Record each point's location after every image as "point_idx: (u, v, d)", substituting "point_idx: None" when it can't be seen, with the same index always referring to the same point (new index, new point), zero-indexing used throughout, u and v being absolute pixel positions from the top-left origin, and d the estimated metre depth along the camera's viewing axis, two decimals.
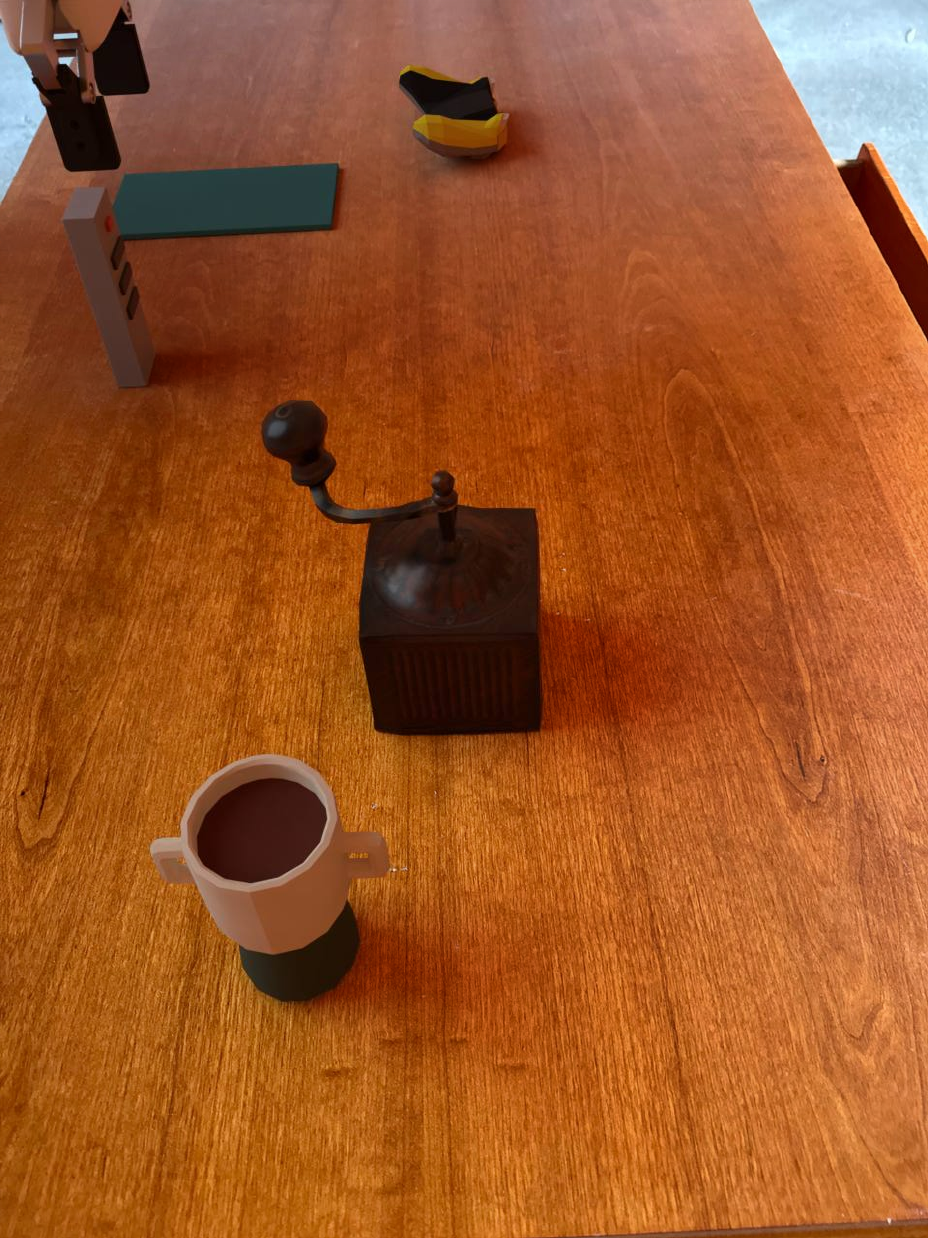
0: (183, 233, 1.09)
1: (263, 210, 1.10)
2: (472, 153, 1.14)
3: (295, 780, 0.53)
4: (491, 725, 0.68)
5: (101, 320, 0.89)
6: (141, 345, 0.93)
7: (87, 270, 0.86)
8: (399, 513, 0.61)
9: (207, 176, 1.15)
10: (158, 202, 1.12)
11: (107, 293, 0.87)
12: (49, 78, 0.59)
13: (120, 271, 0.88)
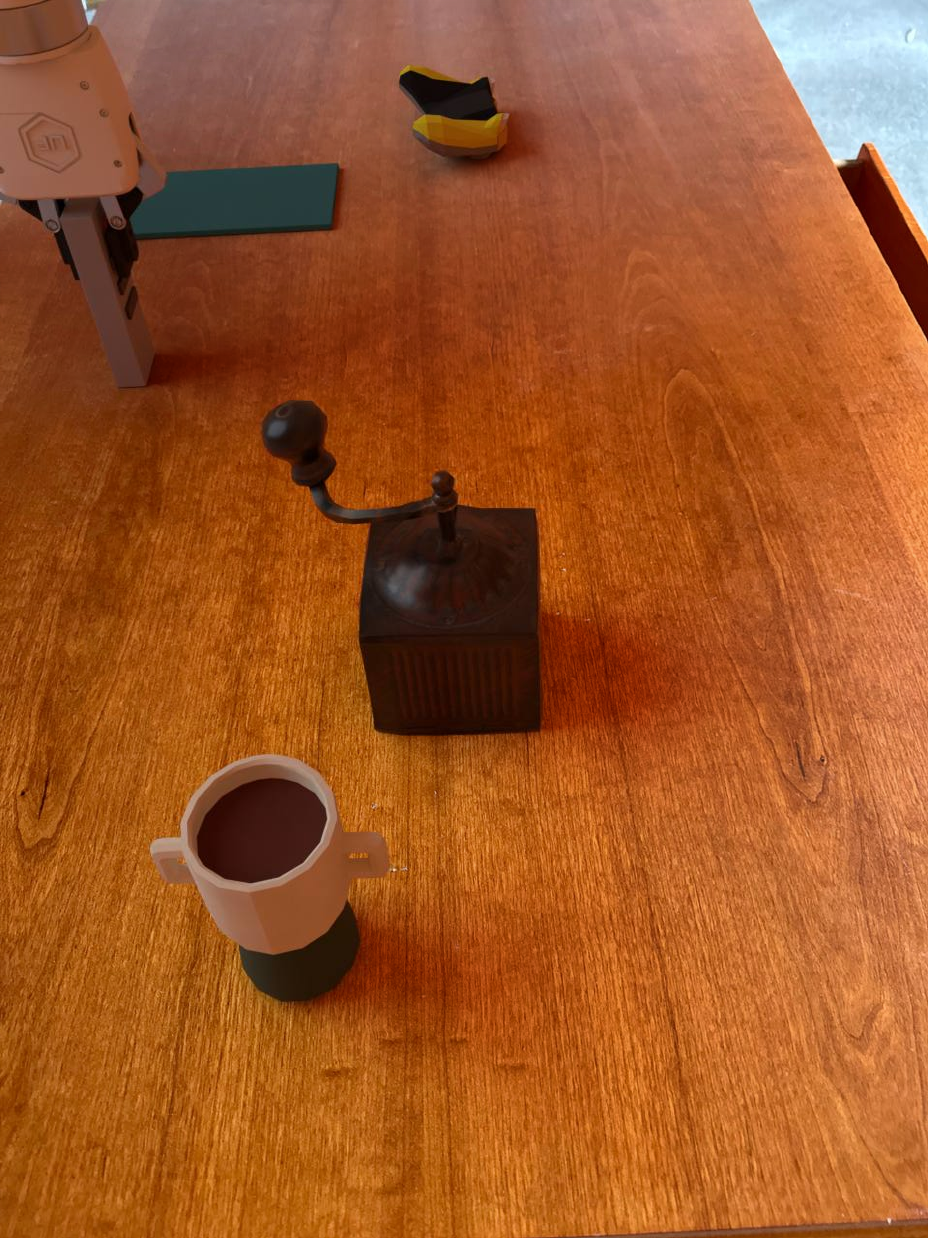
0: (183, 233, 1.09)
1: (263, 210, 1.10)
2: (472, 153, 1.14)
3: (295, 780, 0.53)
4: (491, 725, 0.68)
5: (99, 320, 0.89)
6: (140, 345, 0.93)
7: (85, 270, 0.86)
8: (399, 513, 0.61)
9: (207, 176, 1.15)
10: (158, 202, 1.12)
11: (105, 293, 0.87)
12: None
13: None
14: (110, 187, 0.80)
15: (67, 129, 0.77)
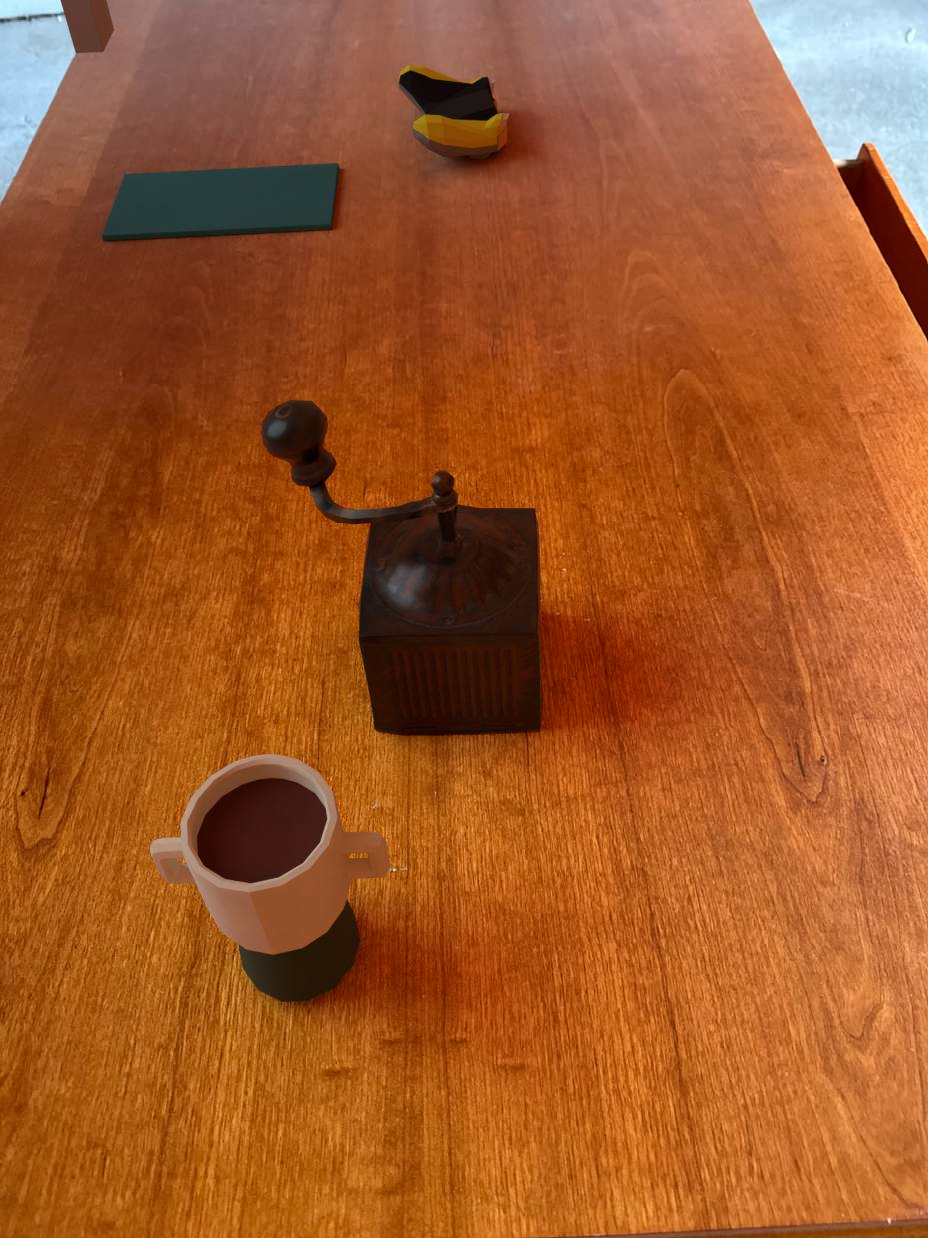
0: (183, 233, 1.09)
1: (263, 210, 1.10)
2: (472, 153, 1.14)
3: (295, 780, 0.53)
4: (491, 725, 0.68)
5: None
6: (98, 8, 0.95)
7: None
8: (399, 514, 0.61)
9: (207, 176, 1.15)
10: (158, 202, 1.12)
11: None
12: None
13: None
14: None
15: None
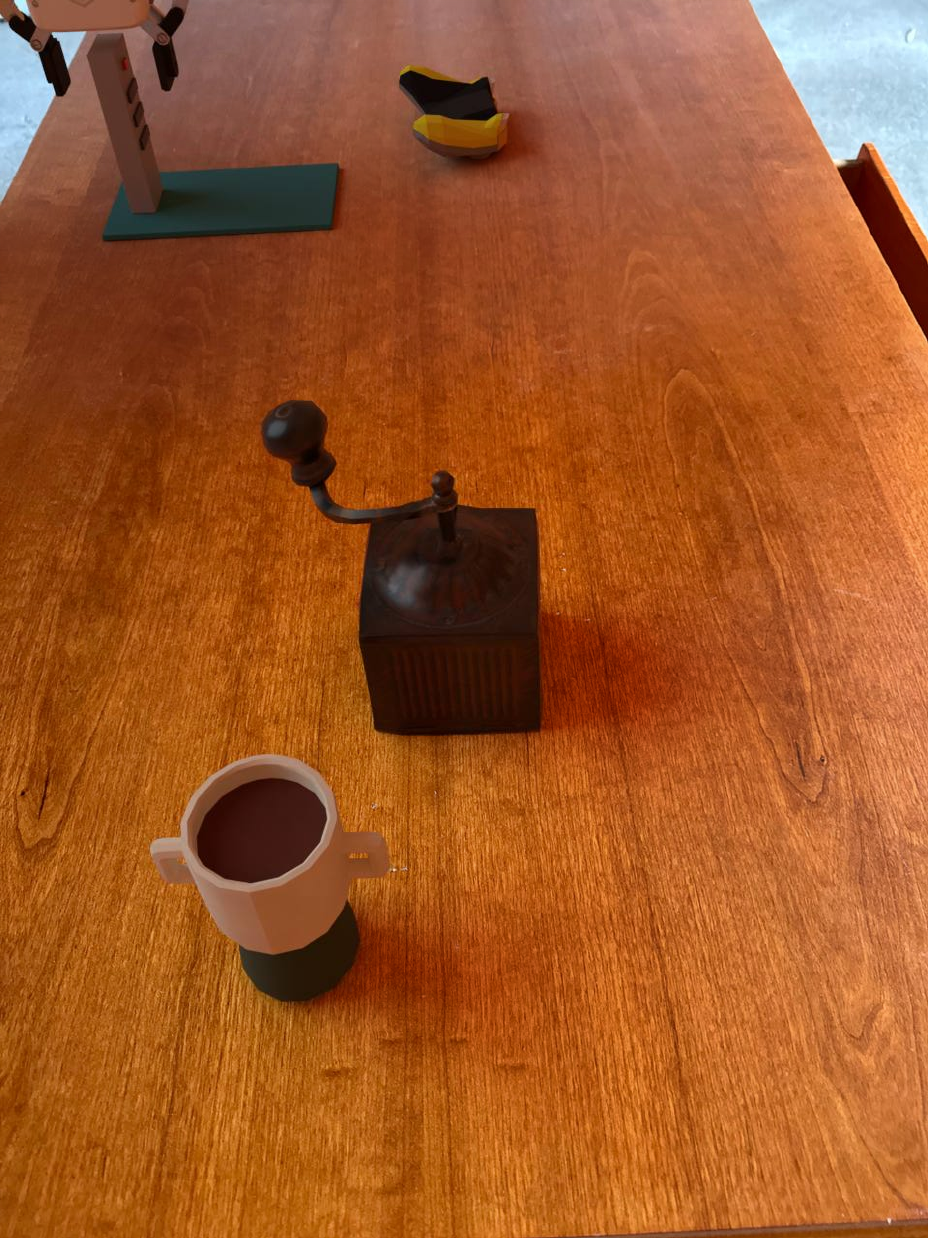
0: (183, 233, 1.09)
1: (263, 210, 1.10)
2: (472, 153, 1.14)
3: (295, 780, 0.53)
4: (491, 725, 0.68)
5: (118, 149, 1.06)
6: (151, 176, 1.10)
7: (107, 102, 1.03)
8: (399, 514, 0.61)
9: (207, 176, 1.15)
10: None
11: (123, 124, 1.05)
12: (186, 8, 0.99)
13: (134, 107, 1.05)
14: (125, 20, 0.97)
15: None
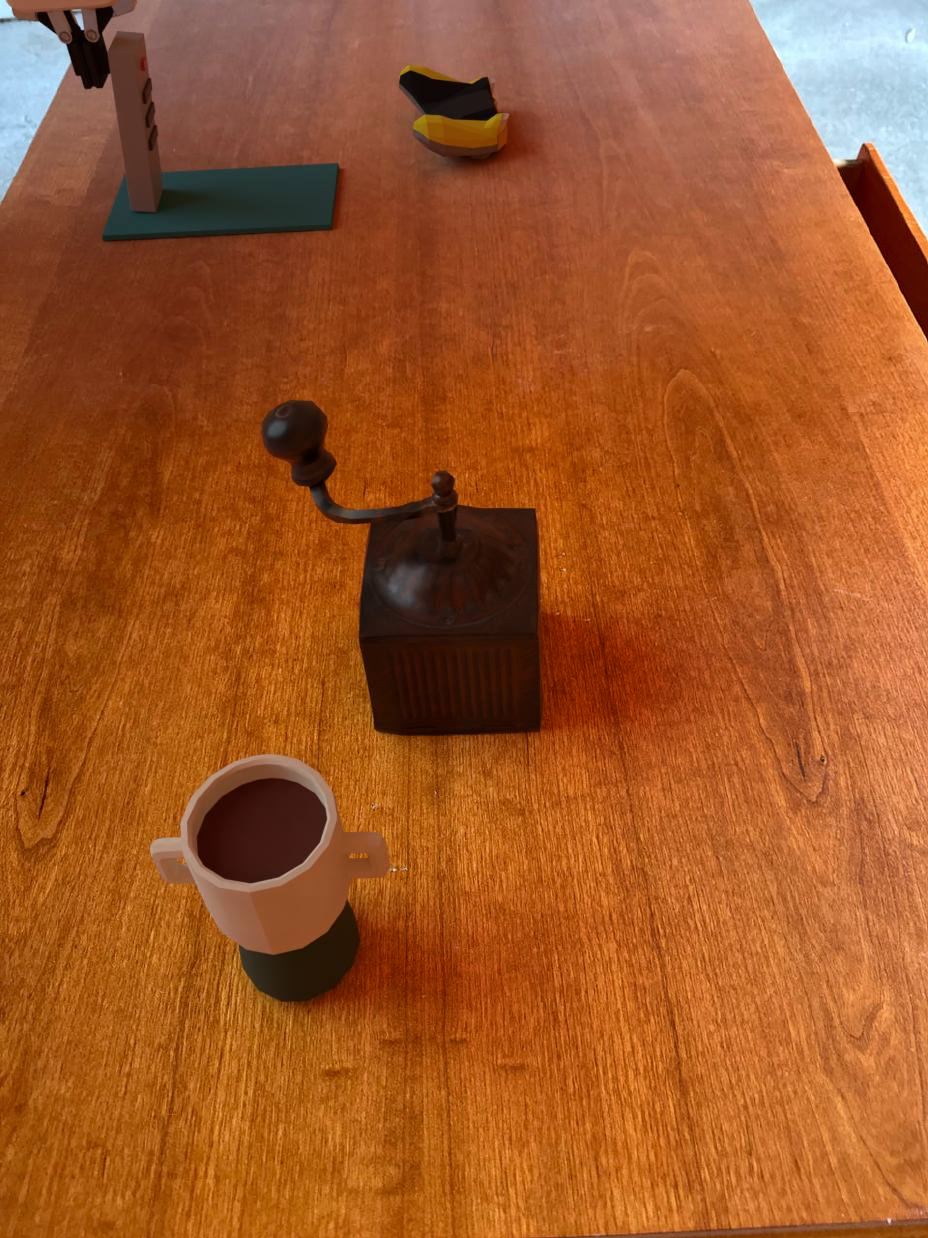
0: (183, 233, 1.09)
1: (263, 210, 1.10)
2: (472, 153, 1.14)
3: (295, 780, 0.53)
4: (491, 725, 0.68)
5: (126, 146, 1.06)
6: (155, 176, 1.10)
7: (121, 100, 1.03)
8: (399, 514, 0.61)
9: (207, 176, 1.15)
10: None
11: (135, 123, 1.04)
12: None
13: (147, 107, 1.06)
14: None
15: None
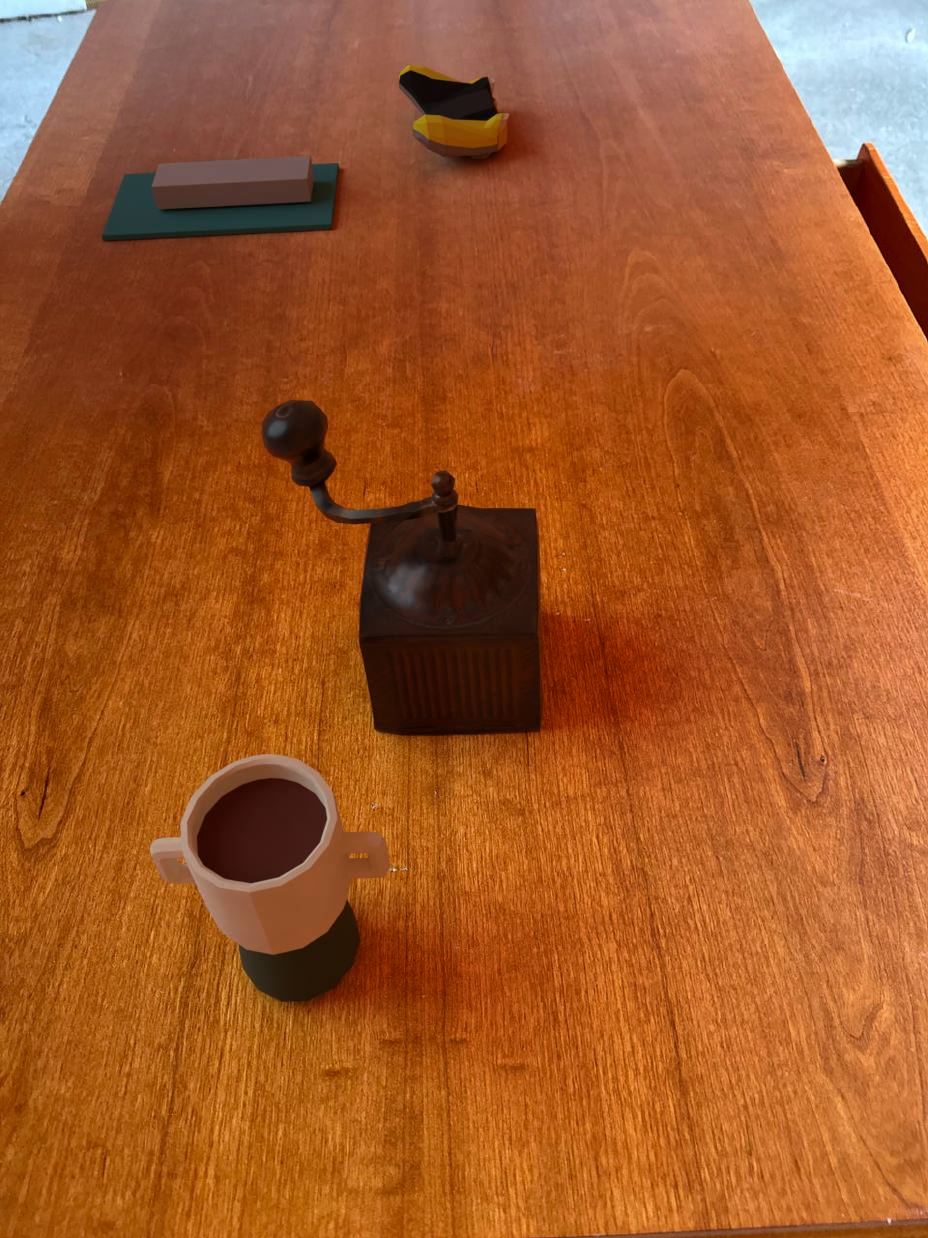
0: (183, 233, 1.09)
1: (263, 210, 1.10)
2: (472, 153, 1.14)
3: (295, 780, 0.53)
4: (491, 725, 0.68)
5: (219, 187, 1.09)
6: None
7: (264, 186, 1.09)
8: (399, 514, 0.61)
9: None
10: None
11: (245, 197, 1.10)
12: None
13: None
14: None
15: None
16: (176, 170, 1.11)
